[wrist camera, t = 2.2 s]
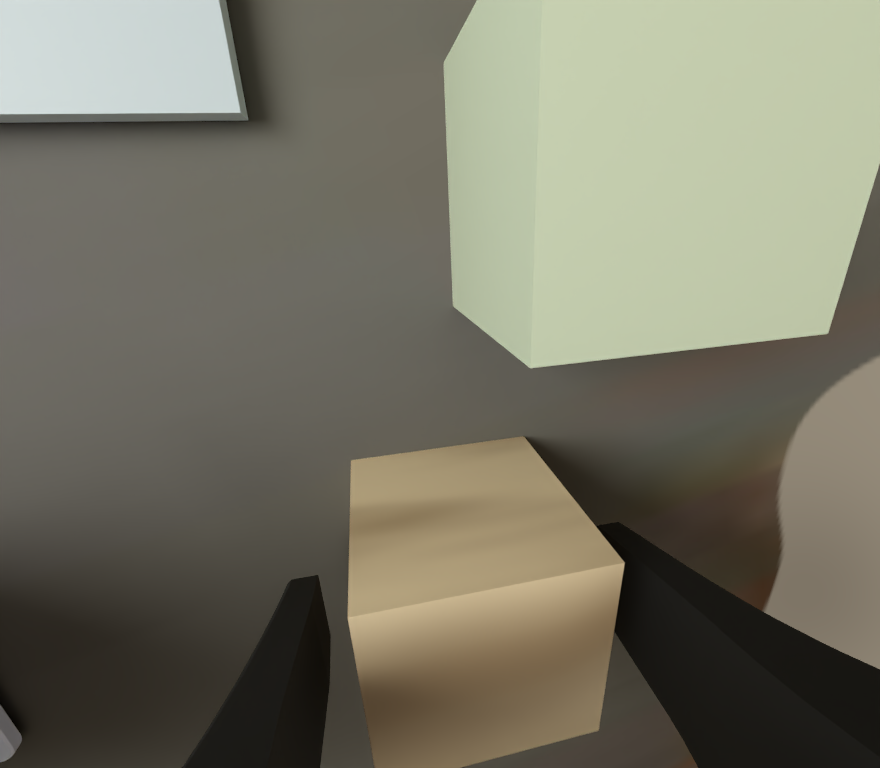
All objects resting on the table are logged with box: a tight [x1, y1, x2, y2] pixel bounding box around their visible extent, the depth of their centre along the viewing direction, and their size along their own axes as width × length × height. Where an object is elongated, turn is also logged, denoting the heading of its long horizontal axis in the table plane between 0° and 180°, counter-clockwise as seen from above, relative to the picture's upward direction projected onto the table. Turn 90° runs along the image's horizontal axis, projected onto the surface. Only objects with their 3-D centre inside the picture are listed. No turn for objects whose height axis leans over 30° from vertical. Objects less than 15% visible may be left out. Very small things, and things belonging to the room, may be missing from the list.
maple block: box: [348, 436, 625, 768], centre depth 10 cm, size 5×5×5 cm
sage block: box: [444, 0, 880, 368], centre depth 7 cm, size 5×5×5 cm
